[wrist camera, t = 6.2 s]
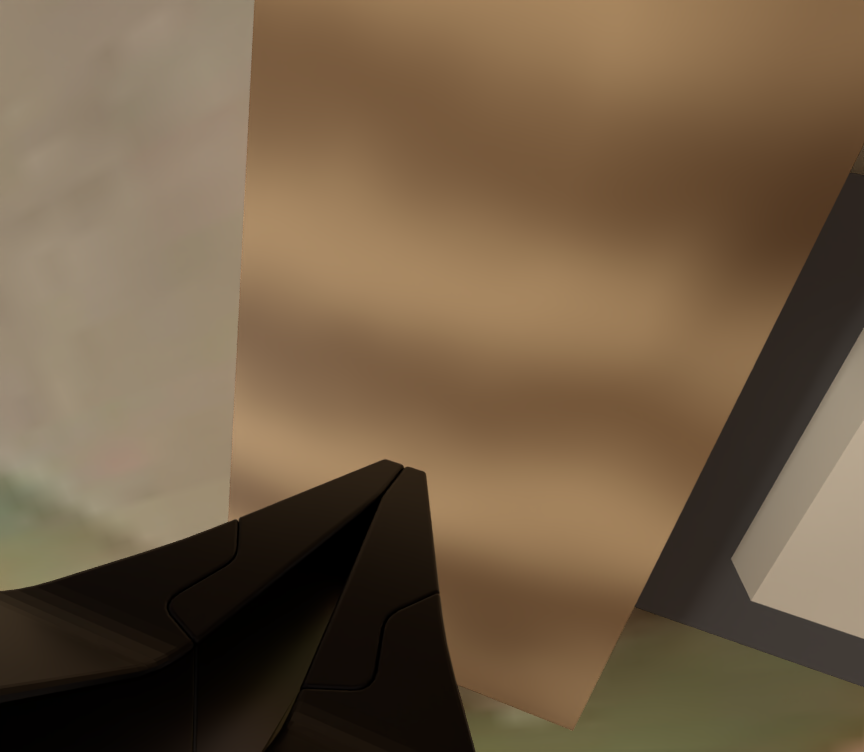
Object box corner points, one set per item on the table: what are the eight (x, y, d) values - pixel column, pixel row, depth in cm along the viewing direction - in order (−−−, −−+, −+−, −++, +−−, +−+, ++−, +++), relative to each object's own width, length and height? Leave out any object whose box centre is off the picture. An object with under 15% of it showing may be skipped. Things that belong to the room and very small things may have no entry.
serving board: (571, 637, 21) (573, 730, 17) (278, 529, 23) (224, 591, 19) (837, 36, 12) (952, -36, 9) (336, -39, 15) (260, -121, 11)
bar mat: (878, 684, 18) (885, 694, 17) (606, 589, 19) (607, 597, 19) (1239, 249, 12) (1261, 251, 11) (800, 165, 13) (807, 164, 13)
